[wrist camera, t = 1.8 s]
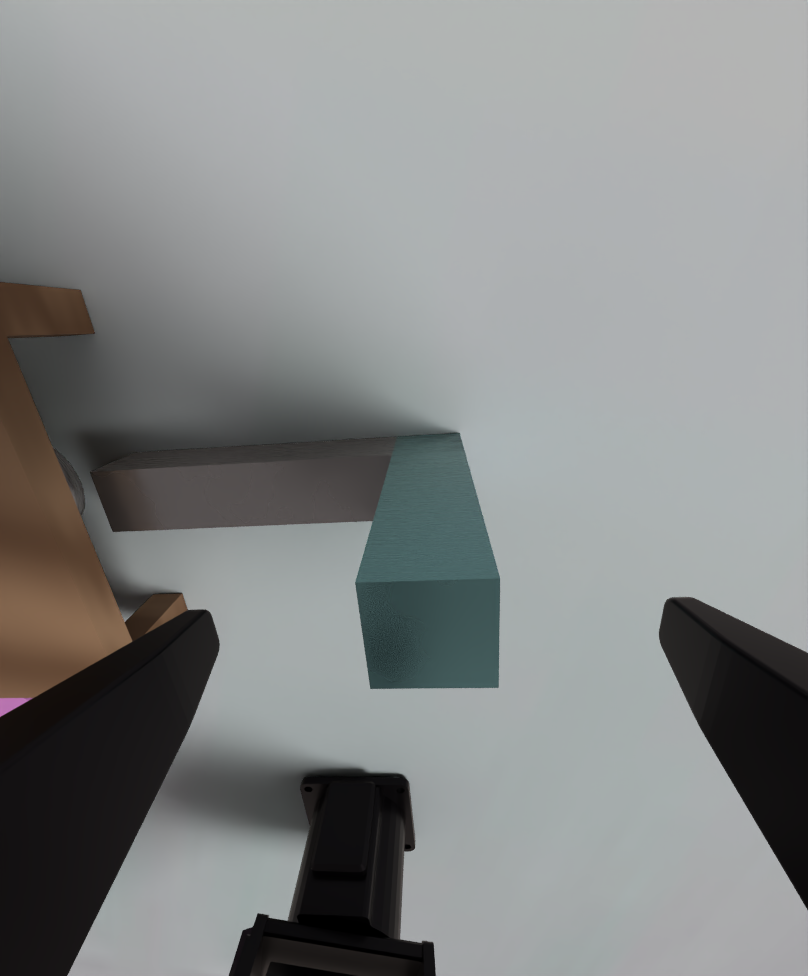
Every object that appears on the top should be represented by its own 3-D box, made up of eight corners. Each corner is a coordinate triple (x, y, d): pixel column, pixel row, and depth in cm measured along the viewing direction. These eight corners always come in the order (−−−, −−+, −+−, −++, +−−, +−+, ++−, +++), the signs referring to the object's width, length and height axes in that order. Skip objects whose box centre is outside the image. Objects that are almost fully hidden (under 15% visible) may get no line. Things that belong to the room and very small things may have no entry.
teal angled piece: (460, 490, 17) (498, 687, 8) (152, 505, 18) (-134, 693, 9) (459, 432, 16) (499, 578, 7) (134, 452, 17) (-205, 599, 8)
